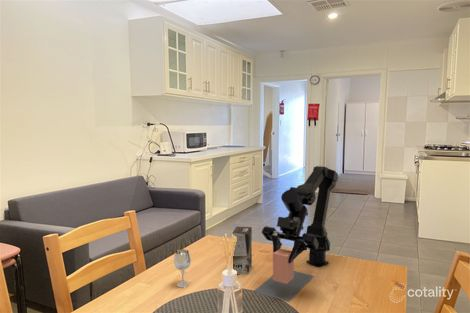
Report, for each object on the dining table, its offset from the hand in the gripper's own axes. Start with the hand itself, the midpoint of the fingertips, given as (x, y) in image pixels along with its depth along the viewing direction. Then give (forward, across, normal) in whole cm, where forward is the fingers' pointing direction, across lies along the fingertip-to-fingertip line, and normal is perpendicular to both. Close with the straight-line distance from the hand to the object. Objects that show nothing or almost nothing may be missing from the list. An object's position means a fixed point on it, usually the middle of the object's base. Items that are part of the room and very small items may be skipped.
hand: (281, 261), depth 110 cm
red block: (+4, 0, +6) cm, 7 cm away
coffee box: (+1, -22, +16) cm, 27 cm away
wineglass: (+17, -33, +1) cm, 37 cm away
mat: (+2, -3, +15) cm, 15 cm away
